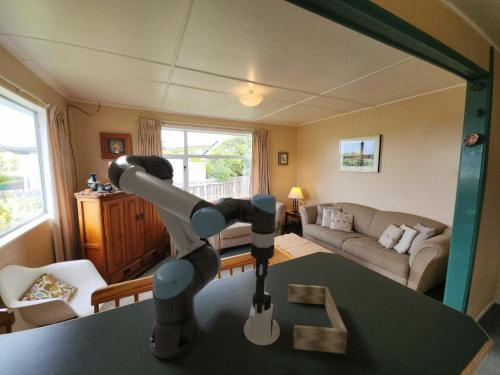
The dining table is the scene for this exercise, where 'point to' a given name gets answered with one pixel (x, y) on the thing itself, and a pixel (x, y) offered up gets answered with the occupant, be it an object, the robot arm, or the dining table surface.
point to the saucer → (262, 340)
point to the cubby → (318, 336)
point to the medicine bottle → (264, 327)
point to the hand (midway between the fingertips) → (260, 304)
